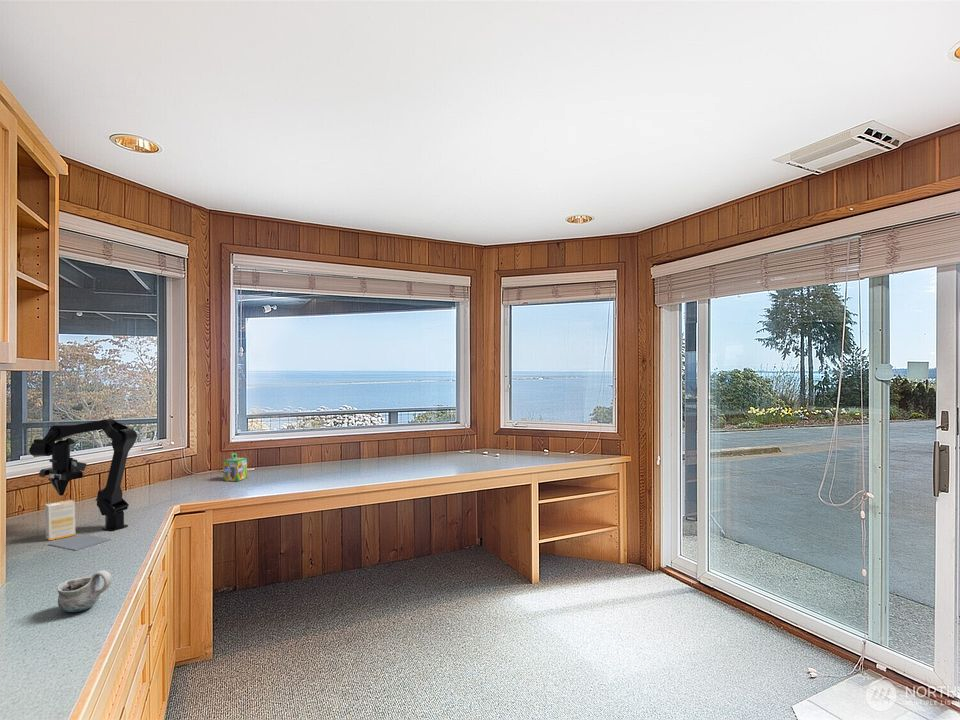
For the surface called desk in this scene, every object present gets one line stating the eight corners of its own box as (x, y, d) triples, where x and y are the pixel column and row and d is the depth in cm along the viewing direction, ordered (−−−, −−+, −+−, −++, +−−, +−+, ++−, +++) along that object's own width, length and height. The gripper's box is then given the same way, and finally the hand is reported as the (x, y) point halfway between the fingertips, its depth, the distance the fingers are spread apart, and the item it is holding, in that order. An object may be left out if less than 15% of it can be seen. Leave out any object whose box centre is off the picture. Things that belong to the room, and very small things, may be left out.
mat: (110, 540, 200) (110, 539, 200) (76, 550, 189) (76, 549, 189) (83, 534, 206) (83, 533, 206) (47, 544, 195) (47, 543, 195)
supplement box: (72, 533, 208) (71, 499, 208) (75, 535, 205) (75, 501, 205) (45, 538, 202) (44, 503, 202) (48, 541, 199) (48, 505, 199)
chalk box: (237, 481, 294) (237, 454, 294) (222, 481, 295) (222, 454, 295) (247, 478, 303) (247, 451, 303) (233, 477, 305) (233, 451, 304)
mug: (68, 603, 148) (67, 566, 148) (119, 598, 152) (119, 562, 152) (49, 619, 139) (49, 580, 139) (105, 613, 142) (104, 575, 142)
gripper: (97, 454, 218) (97, 493, 218) (69, 451, 225) (69, 488, 225) (66, 459, 207) (67, 499, 207) (38, 455, 215) (38, 494, 215)
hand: (61, 495), depth 214 cm, fingers closed
